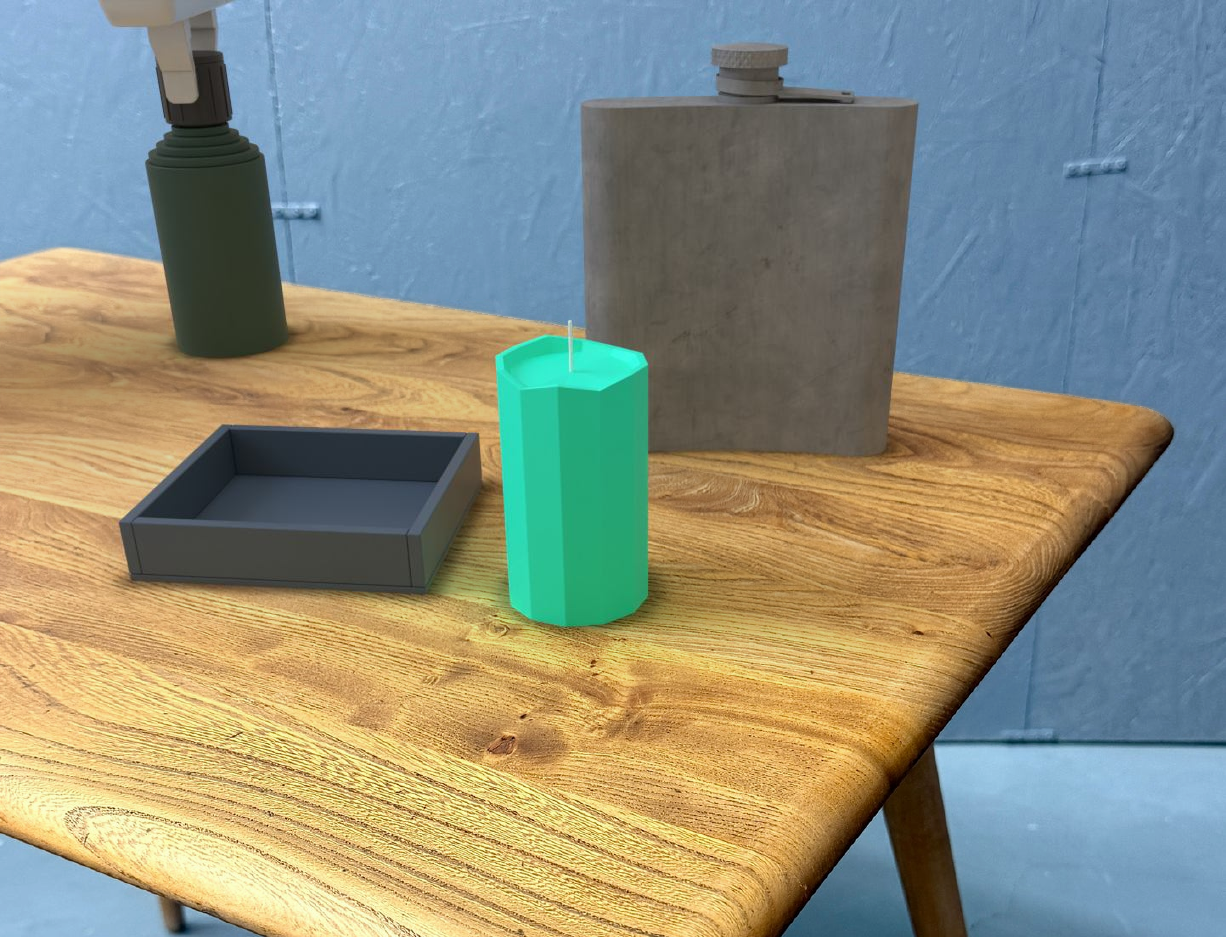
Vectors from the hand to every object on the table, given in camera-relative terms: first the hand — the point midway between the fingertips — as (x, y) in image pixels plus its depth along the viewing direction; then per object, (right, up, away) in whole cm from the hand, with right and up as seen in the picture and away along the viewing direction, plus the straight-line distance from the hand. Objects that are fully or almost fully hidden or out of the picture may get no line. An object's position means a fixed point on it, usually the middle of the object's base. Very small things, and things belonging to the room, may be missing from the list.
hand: (195, 96), depth 80 cm
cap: (0, -1, +1) cm, 1 cm away
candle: (+24, -31, -24) cm, 46 cm away
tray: (+12, -28, -18) cm, 35 cm away
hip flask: (+32, -23, -9) cm, 40 cm away
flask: (0, -14, +8) cm, 16 cm away
